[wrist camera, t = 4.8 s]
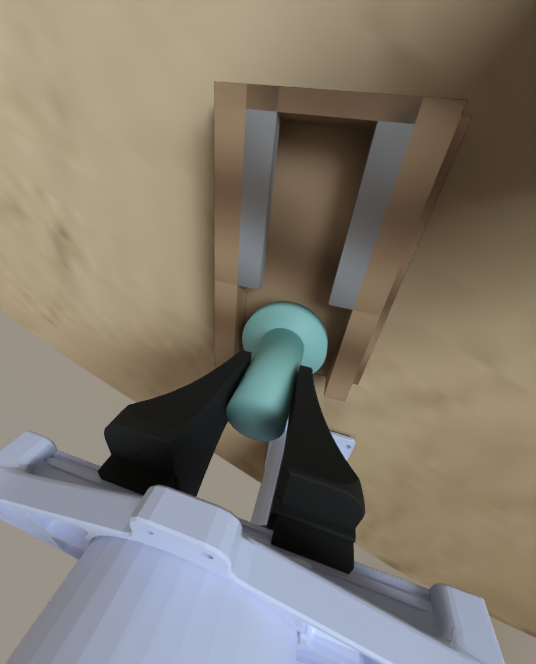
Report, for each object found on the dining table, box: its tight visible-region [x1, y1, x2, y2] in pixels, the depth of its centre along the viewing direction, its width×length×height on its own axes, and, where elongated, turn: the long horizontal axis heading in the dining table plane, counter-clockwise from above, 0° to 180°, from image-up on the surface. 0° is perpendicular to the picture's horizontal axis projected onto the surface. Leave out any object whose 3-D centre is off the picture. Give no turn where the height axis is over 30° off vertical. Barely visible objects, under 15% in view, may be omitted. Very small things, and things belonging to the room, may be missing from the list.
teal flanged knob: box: [226, 301, 328, 441], centre depth 14 cm, size 6×6×7 cm
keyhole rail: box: [214, 81, 472, 402], centre depth 15 cm, size 16×12×3 cm
